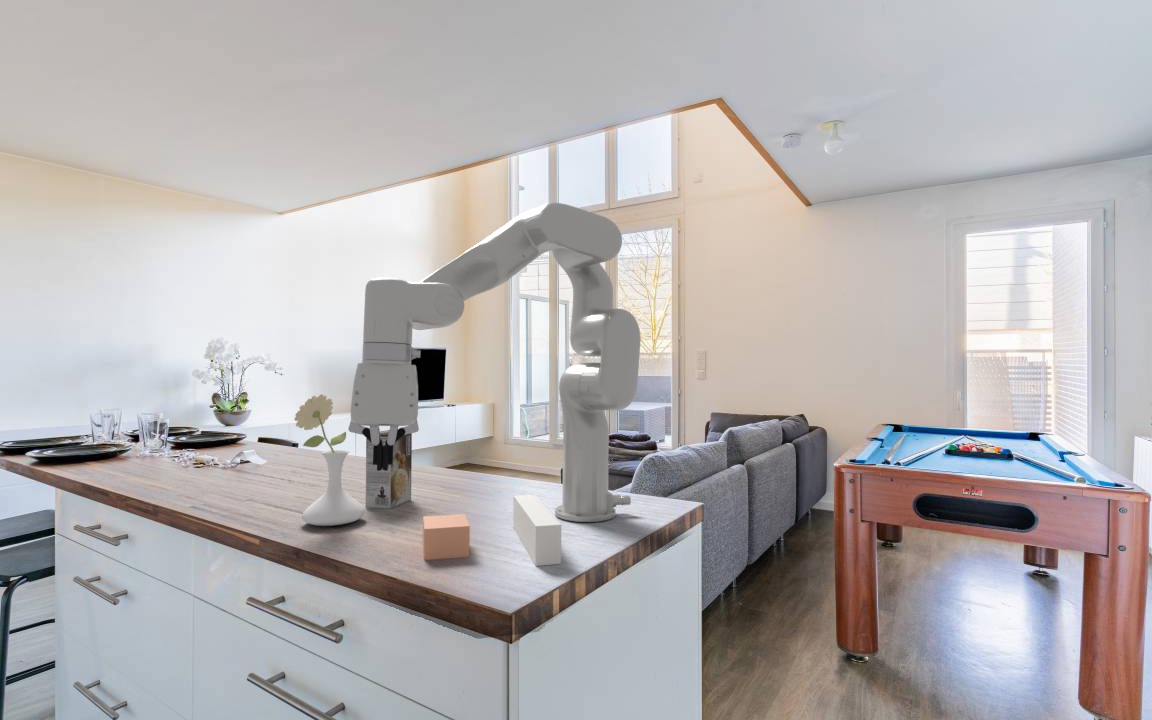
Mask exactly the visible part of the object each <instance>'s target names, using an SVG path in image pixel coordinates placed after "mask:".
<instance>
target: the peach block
mask: <svg viewBox="0 0 1152 720" xmlns="http://www.w3.org/2000/svg"><path fill="white" fill-rule="evenodd" d="M470 528H471V526H470V523H469V521H468V518H467V516H466V514H465V513H461V514H460V513H459V514H458V513H457V514H446V515H445V514H444V515H428V516H426V515H424V516H422V553H423V560H424V561H427V560H428V561H432V560H442V559H443V560H444V559H452V558H453V559H455V558H464V557H465V558H467V557H470V536H471V535H470V534H471V533H470V532H471V531H470Z"/></svg>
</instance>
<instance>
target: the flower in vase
mask: <svg viewBox="0 0 1152 720" xmlns="http://www.w3.org/2000/svg"><path fill="white" fill-rule="evenodd" d="M333 403H334V402H333V400H332V398H327V395H324V394H323V393H322V394H319V395H318V396H316V395H313V396H311V398H308V399H307V400H306V401H305V402H304V404H300V406H299V410H298V411H297V412H296V413H295V417H294V418H293V419H294V421H295V422H296V423H295V426H296V427H297V428H299V429H303V430H304V431H311V430H313V429H314V428H315V429H316V428H318V427H319V426H320V428H321V431H322V434H323V436H322V435H313V436H311V437H310V438H308V439H307V440H306V441H305V442H304V443H303V444H302V447H306V448H317V447H319V446H320V445H321V444H322V443H323V442H324V440H325V441H326V443H327V445H328V446H329V449H330V450H324V451H321V454H322V456H323V457H324V458H325V461H326V463H327V469H328V470H327V471H328V482H327V483H328V484H327V487H326V491H325V492H324V493H323V494H322V495H321V496H320V497H318V498H317V499H316V500H315V501H313V502H312V503H311V504H310V505H308V507H307V508H306V509H305V510H304V511H303V512H302V514H301V519H302V521H303V522H304V523H307V524H309V525H313V526H319V527H320V526H321V527H331V526H340V525H341V526H342V525H346V524H349V523H353V522H355V521H357V520H360V519H362V518H363V517H364V516H365V514H366V509H365V508H364V506H363V505H362V504H361V503H360V502H359V501H358V500H356V499H355V498H354V497H352V496H350V495H349V494H348V493H347V492H346V491H345V490H344V489H343V486H342V485H343V484H342V471H343V465H344V462H345V459H346V457H347V455H348V454H349V453H350V450H349V449H334V448H333V446H336V445H340V444H342V443H344V442H345V440H346V439H347V438H346V437H347V432H346V431H344V432H343V433H341V434H339V435H337V436H334V437H332V438H331V439H330V442H329V439H328V438H327V436H326V435H327V434H326V433H325V428H324V424H325V423H326V421H327V420H328V419H329V417H330V416H331V415H332V413H333V412H332V410H333V408H334V407H333Z"/></svg>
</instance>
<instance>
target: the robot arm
mask: <svg viewBox="0 0 1152 720" xmlns="http://www.w3.org/2000/svg"><path fill="white" fill-rule="evenodd" d="M622 246H623V236H622V233H621V230H620V228H619V226H617V224H616V223H615V222H614V221H613V220H612V219H611V218H608V217H605V216H603V215H600V214H597V213H595V212H591V211H588V210H585V209H582V208H579V207H577V206H573V205H570V204H566V203H561V202H553V201H552V202H548V203H544V204H541V205H540V206H537V207H534V208H531V209H528V210H527V211H525V212H522V213H520V214H519V215H518V216H516V217H514V218H513V219H511V220H510V221H509V222H507V223H506V224H505V225H503V226H501V227H500V228H498V229H497V230H496V231H494V232H493V233H492V234H491V235H488V236H487V237H485V239H483V240H482V241H480V242H479V243H477V244H475V245H474V246H473V247H470V248H469V249H467V250H466V251H464V252H463V253H462V254H460V255H459V256H458V257H455V259H453V260H451V261H449V262H448V263H447V264H445V265H443V266H441V267H440V268H438V269H437V270H435V271H434V272H433V273H431V274H429V275H428V276H426V277H425V278H423V279H422V280H420V281H419V282H411V281H407V280H405V279H400V278H391V277H376V278H371V279H370V280H369V281H368V282H367V283H366V284H365V291H364V307H363V308H364V311H363V334H362V336H363V338H362V358H361V359H362V360H361V362H358V363H357V366H356V369H355V374H354V379H353V385H352V395H351V402H350V423H349V426H348V430H347V431H348V432H350V433H353V434H357V435H358V434H359V435H362V436H364V437H365V438H367V439H368V440H369V441H370V442H371V443H372V444H373V445H374V447H373V465H377V471H380V470H382V468H383V470H384V471H387V470H388V467H389V465H393V448H394V444H395V443H396V442H397V441H398V440H399V439H400V438H401V437H402V436H403V435H406V434H411V433H412V434H415V433H417V432H419V430H420V428H419V422H418V417H419V416H418V414H419V382H418V381H419V380H418V371H417V366H416V364H412V360H414V359H417V358H418V359H420V358H421V351H422V350H421V349H417V348H414V347H413V346H412V345H413V330H416V331H423V330H425V331H426V330H432V329H433V330H434V329H441V328H442V329H443V328H447V327H449V326H451V325H454V324H455V323H457V322H458V321H459V320H460V319H461V317H462V316H463V314H464V311H465V301H467V300H469V299H470V298H473V297H475V296H478V295H479V294H483V293H486V292H488V291H491V290H493V289H495V288H497V287H499V286H501V285H503V284H505V283H506V282H508V281H509V280H510V279H512V278H513V277H515V275H517V274H518V273H519V272H520V271H522V270H523V269H525V267H526V266H528V265H529V264H531V263H532V262H533V261H535V260H536V259H537V258H538V257H540V256H542V255H543V254H544V253H547V252H551V251H552V255H553V257H554V260H555V261H556V263H557V264H558V265H559V266H560V267H561V269H563V271H564V272H565V273H566V275H567V276H568V278H569V280H570V283H571V285H572V310H571V321H570V334H569V335H570V336H569V338H570V339H569V341H570V346H571V348H572V350H573V351H574V352H575V353H576V354H578V355H579V356H583V357H593V358H594V357H600V362H579V363H575V364H573V365H571V366H569V367H567V369H565V370H564V371H563V373H562V375H561V376H560V379H559V383H558V384H559V385H558V390H559V398H560V399H559V400H560V404H561V409H562V410H561V411H562V422H563V423H562V424H563V429H562V430H563V431H562V434H563V435H562V436H563V439H562V504H561V505H558V506H557V507H556V508H555V510H554V515H555V516H556V517H557V518H559V519H561V520H563V521H564V520H565V521H570V522H579V523H596V522H604V521H608V520H612V519H613V518H615V517H616V515H617V511H616V508H617V506H630V505H631V503H632V502H631V501H632V500H631V496H630V495H621V494H613V493H611V492H609V450H610V449H609V446H610V445H609V441H610V430H609V424H608V419H607V417H606V414H605V412H604V411H611V412H612V411H613V412H614V411H616V412H617V411H621V410H624V409H627V408H629V406H630V405H631V404H632V403H633V400H634V399H635V396H636V393H637V388H638V381H639V379H638V378H639V368H640V367H639V366H640V355H641V353H640V351H641V331H640V327H639V323H638V321H637V319H636V318H635V316H634V315H633V314H632V313H631V312H630V311H628V310H626V309H623V308H614V307H613V306H614V288H613V287H614V286H613V283H612V281H611V278H610V276H609V274H608V273H607V271H606V269H605V268H604V267H603V266H602V263H606V262H608V261H611V260H613V259H614V258H616V256H617V255H618V254H619V253H620V252H621V249H622ZM382 426H383V427H385V426H386V427H388V426H389V429H388V430H389V435H388V439H387V440H386V442H385V445H383V443H382V440H381V438H380V431H381V430H380V427H382ZM400 426H401V427H400Z"/></svg>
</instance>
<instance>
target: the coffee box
mask: <svg viewBox="0 0 1152 720" xmlns="http://www.w3.org/2000/svg"><path fill="white" fill-rule="evenodd" d="M389 430H390V429H387V430H382V431H381V430H380V438H381V440H382V443H383V445H385V442H386V440H387V439H388V435H389ZM365 438H366V437H365ZM412 439H413V433H411V434H406V435H403V436H402V437H401V438H400V439H399V440H398V441H397V442H396V443H395V444H394V448H393V465H389V467H388V470H387V471H384V470H383V468H382V470H380V471H377V465H373V447H374V445H373V444H372V443H371V442H370V441H369V440H368V439H367V438H366V439H365V440H366V441H365V443H366V444H365V445H366V446H365V508H371V509H373V508H375V509H389V510H390V509H393V508H396V507H397V506H400V505H402V504H405V503H406V502H409V501H411V500H412V468H413V467H412V466H413V465H412V457H413V456H412V452H413V451H412V450H413V449H412V448H413V446H412V445H413V444H412V443H413V441H412Z"/></svg>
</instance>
